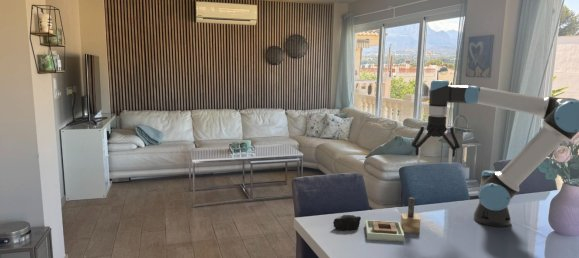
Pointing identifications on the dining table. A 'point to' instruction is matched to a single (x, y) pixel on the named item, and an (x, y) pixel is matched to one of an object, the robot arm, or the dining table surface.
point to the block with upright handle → (410, 219)
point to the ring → (384, 227)
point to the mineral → (347, 222)
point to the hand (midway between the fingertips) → (434, 163)
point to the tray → (383, 236)
